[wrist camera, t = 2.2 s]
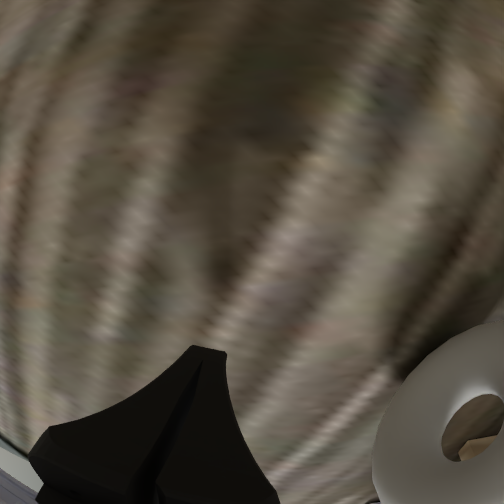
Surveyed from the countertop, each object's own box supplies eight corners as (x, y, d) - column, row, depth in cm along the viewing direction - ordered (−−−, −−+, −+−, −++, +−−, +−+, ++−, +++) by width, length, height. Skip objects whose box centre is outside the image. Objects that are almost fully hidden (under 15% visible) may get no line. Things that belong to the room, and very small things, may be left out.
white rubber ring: (488, 271, 12) (624, 396, 2) (510, 310, 12) (615, 426, 3) (344, 402, 15) (367, 576, 5) (379, 425, 15) (410, 572, 6)
